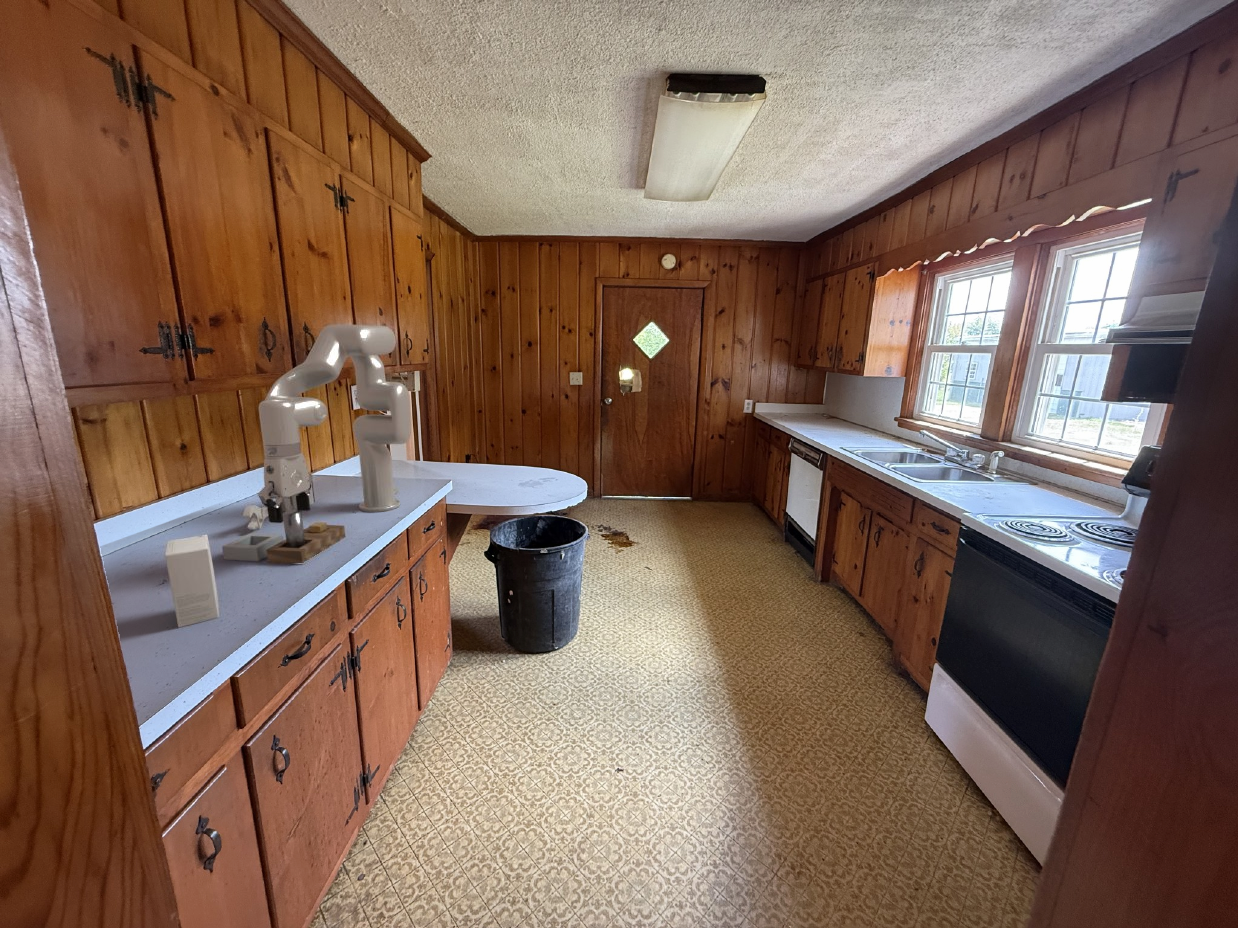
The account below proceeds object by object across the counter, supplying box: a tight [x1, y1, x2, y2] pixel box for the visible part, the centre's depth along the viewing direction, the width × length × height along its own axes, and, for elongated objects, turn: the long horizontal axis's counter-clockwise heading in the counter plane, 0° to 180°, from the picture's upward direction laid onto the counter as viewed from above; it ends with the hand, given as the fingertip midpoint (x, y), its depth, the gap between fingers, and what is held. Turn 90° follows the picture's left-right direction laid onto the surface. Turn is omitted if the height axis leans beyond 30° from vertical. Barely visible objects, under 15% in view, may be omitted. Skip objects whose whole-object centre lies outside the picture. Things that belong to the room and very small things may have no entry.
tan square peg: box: [308, 521, 328, 534], centre depth 134 cm, size 3×3×5 cm
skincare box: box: [164, 534, 220, 628], centre depth 97 cm, size 8×7×16 cm
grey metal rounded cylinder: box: [282, 509, 306, 548], centre depth 125 cm, size 4×4×12 cm
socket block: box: [266, 524, 346, 564], centre depth 130 cm, size 18×9×4 cm, turn 177°
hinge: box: [281, 473, 315, 512], centre depth 161 cm, size 14×5×10 cm, turn 177°
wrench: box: [242, 500, 281, 531], centre depth 151 cm, size 8×2×30 cm
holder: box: [221, 532, 284, 562], centre depth 127 cm, size 9×9×4 cm
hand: (290, 516), depth 123 cm, fingers open, 9 cm apart
